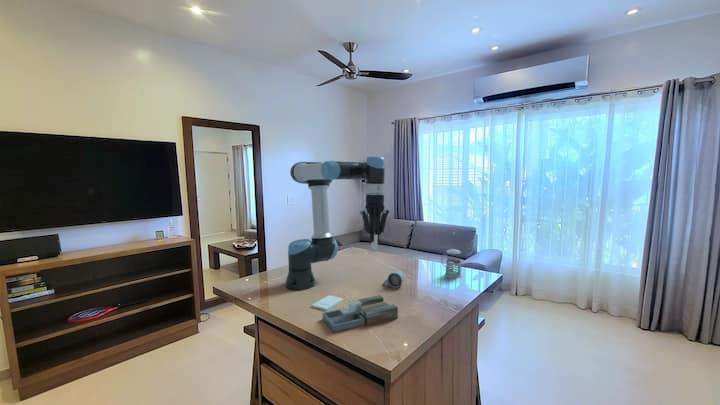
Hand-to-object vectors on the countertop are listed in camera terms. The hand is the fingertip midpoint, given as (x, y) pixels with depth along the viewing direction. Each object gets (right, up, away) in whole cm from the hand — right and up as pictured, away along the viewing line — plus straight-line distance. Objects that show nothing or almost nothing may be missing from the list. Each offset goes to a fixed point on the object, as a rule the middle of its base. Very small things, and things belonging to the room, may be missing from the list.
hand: (374, 249), depth 125 cm
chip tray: (-13, -26, -12) cm, 31 cm away
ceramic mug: (+11, -23, +28) cm, 38 cm away
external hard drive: (-20, -26, +5) cm, 33 cm away
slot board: (0, -26, -6) cm, 26 cm away
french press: (+46, -22, +43) cm, 67 cm away
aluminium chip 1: (-10, -23, -11) cm, 28 cm away
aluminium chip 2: (-8, -23, -10) cm, 26 cm away
